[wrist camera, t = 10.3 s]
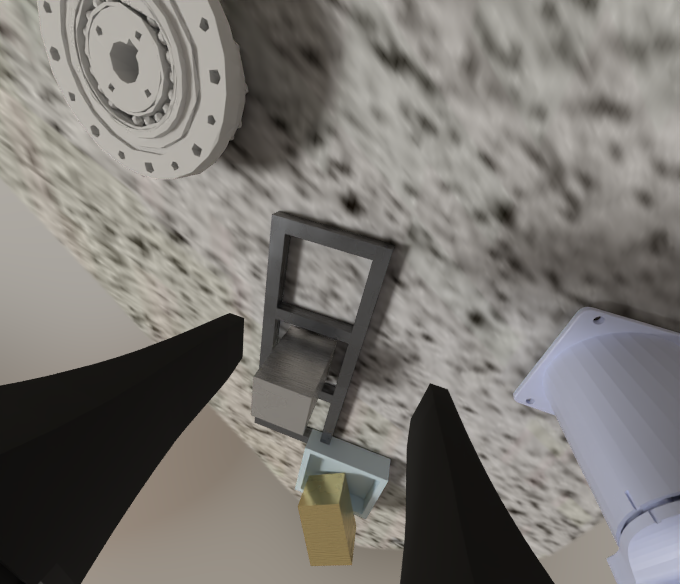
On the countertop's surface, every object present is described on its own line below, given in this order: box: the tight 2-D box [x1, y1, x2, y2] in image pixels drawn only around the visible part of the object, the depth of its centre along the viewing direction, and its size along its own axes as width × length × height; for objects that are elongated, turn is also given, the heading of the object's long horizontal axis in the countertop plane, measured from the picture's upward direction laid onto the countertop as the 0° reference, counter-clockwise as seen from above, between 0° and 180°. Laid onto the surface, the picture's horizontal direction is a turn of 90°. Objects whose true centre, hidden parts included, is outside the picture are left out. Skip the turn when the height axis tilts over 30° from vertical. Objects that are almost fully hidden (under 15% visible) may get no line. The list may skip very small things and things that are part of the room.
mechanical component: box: [37, 0, 249, 180], centre depth 15 cm, size 10×4×10 cm
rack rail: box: [255, 211, 395, 445], centre depth 23 cm, size 8×22×1 cm, turn 168°
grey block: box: [251, 325, 337, 436], centre depth 21 cm, size 4×4×6 cm
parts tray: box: [295, 429, 391, 519], centre depth 29 cm, size 8×8×2 cm
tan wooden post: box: [298, 473, 356, 566], centre depth 28 cm, size 4×4×6 cm
